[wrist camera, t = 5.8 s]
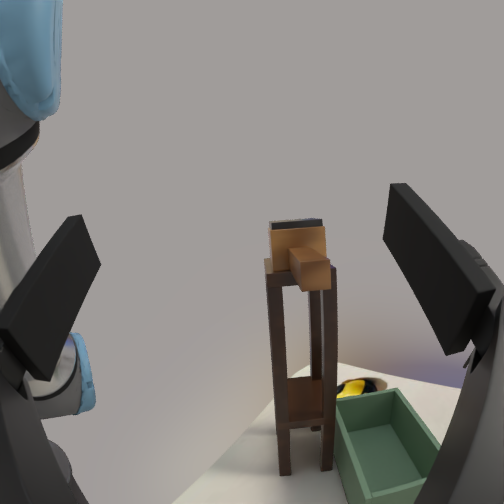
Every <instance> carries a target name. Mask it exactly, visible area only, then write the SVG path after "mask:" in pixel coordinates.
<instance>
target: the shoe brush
mask: <svg viewBox="0 0 504 504" xmlns="http://www.w3.org/2000/svg"><path fill="white" fill-rule="evenodd" d="M269 227H270V228H268V234H269V245H270V246H269V247H270V260H271V265H272V269H273V271H274V272H275V271H287V270H290V272H291V273H292V275H293V277H294V279H295V280H296V282H297V284H298V286H299V287H300V289H301V291H302V292H305V291H316V290H326V289H331V272H330V260H329V259H328V258H327V256H326V239H325V227H324V226H323V224H322V219H315V218H314V219H313V218H310V219H295V220H282V221H270V222H269Z"/></svg>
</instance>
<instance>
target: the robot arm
mask: <svg viewBox="0 0 504 504" xmlns="http://www.w3.org/2000/svg"><path fill="white" fill-rule="evenodd" d="M62 6H63V0H0V504H78V502H77V501H76V499H75V497H74V495H73V493H72V491H71V489H70V487H69V485H68V483H67V481H66V479H65V477H64V475H63V473H62V471H61V469H60V467H59V464H58V462H57V460H56V458H55V455H54V453H53V451H52V448H51V446H50V444H49V441H48V439H47V436H46V433H45V431H44V428H43V426H42V423H41V419H48V418H54V417H60V416H66V415H78V414H80V413H81V412H85V411H89V410H91V409H92V408H93V407H94V406H95V403H96V396H95V390H94V385H93V382H92V381H93V379H92V373H91V368H90V363H89V359H88V354H87V350H86V346H85V343H84V340H83V338H82V336H81V335H80V334H79V333H72V332H70V331H71V328H72V326H73V324H74V321H75V319H76V316H77V314H78V312H79V310H80V308H81V305H82V303H83V301H84V299H85V297H86V294H87V292H88V290H89V288H90V286H91V284H92V282H93V280H94V278H95V276H96V274H97V272H98V270H99V268H100V266H101V263H100V261H99V258H98V256H97V253H96V251H95V248H94V246H93V243H92V241H91V238H90V236H89V233H88V231H87V228H86V225H85V223H84V220H83V217H82V215H76V216H70V217H67V219H66V220H65V221H64V222H63V224H62V225H61V226H60V228H59V229H58V230H57V231H56V233H55V234H54V235H53V237H52V238H51V239H50V241H49V242H48V243H47V245H46V246H45V247H44V249H43V250H42V251H41V253H40V254H39V256H38V257H36V252H35V248H34V243H33V239H32V233H31V228H30V222H29V216H28V211H27V204H26V198H25V190H24V182H23V173H22V161H23V160H24V159H25V158H26V157H27V156H28V154H29V153H30V152H31V151H32V150H33V149H34V147H35V146H36V144H37V142H38V139H39V134H40V132H39V121H41V120H45V119H46V118H47V117H48V116H51V115H53V114H54V113H55V112H57V110H58V107H59V104H60V90H61V77H60V72H61V43H62V42H61V41H62V39H61V38H62ZM383 240H384V242H385V244H386V245H387V247H388V249H389V250H390V252H391V254H392V255H393V257H394V259H395V260H396V262H397V264H398V266H399V267H400V269H401V271H402V272H403V274H404V276H405V278H406V279H407V281H408V283H409V285H410V287H411V288H412V290H413V292H414V294H415V296H416V298H417V299H418V301H419V303H420V305H421V307H422V309H423V311H424V313H425V314H426V317H427V318H428V320H429V322H430V324H431V326H432V328H433V330H434V332H435V334H436V336H437V338H438V341H439V343H440V345H441V347H442V349H443V351H444V353H445V355H446V356H448V355H451V354H455V353H458V352H462V351H464V350H465V348H466V346H467V345H468V343H469V341H470V339H471V340H472V342H473V344H474V345H475V348H474V350H473V351H472V353H471V355H470V356H469V358H468V360H467V361H466V362H465V364H464V366H463V368H466V367H467V365H468V364H469V366H468V369H467V373H466V376H465V379H464V383H463V387H462V390H461V393H460V396H459V399H458V402H457V405H456V408H455V411H454V414H453V417H452V419H451V422H450V425H449V427H448V430H447V433H446V435H445V438H444V440H443V443H442V445H441V447H440V450H439V452H438V454H437V457H436V459H435V461H434V463H433V466H432V468H431V470H430V472H429V474H428V476H427V478H426V480H425V482H424V484H423V486H422V488H421V490H420V492H419V494H418V496H417V498H416V500H415V501H414V503H413V504H503V503H504V285H503V283H502V282H501V281H500V280H499V278H498V277H497V275H496V274H495V273H494V272H493V270H492V269H491V268H490V267H489V266H488V265H487V263H486V262H485V260H484V259H482V257H481V255H480V254H479V253H478V252H477V251H476V249H475V248H474V247H472V246H471V245H470V244H468V243H467V242H465V241H464V240H458V239H457V238H456V237H455V235H454V234H453V233H452V232H451V231H450V230H449V229H448V227H447V226H446V225H445V224H444V223H443V222H442V221H441V219H440V218H439V217H438V216H437V215H436V214H435V213H434V212H433V211H432V210H431V209H430V208H429V206H428V205H427V204H426V203H425V202H424V201H423V200H422V199H421V198H420V197H419V196H418V195H417V194H416V193H415V192H414V191H413V190H412V189H411V188H410V187H409V186H408V185H407V184H406V183H395V184H390V190H389V198H388V206H387V214H386V221H385V227H384V234H383Z"/></svg>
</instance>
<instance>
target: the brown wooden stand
mask: <svg viewBox="0 0 504 504" xmlns="http://www.w3.org/2000/svg"><path fill="white" fill-rule="evenodd" d="M264 265H265V279H266V292H267V305H268V318H269V332H270V346H271V360H272V373H273V387H274V388H273V389H274V404H275V419H276V434H277V441H278V457H279V473H280V476H287V475H291V462H290V431H289V429H295V428H304V427H311V430H312V431H319V430H321V448H320V468H321V471H328V470H332V464H333V451H334V437H335V420H336V398H337V357H338V351H337V350H338V346H337V345H338V328H337V327H338V325H337V324H338V323H337V322H338V321H337V282H336V281H337V276H336V268H335V267H333V266H332V265H331V264H330V272H331V289H326V290H316V291H308V306H309V331H310V332H309V334H310V376H307V377H297V378H287V364H286V344H285V326H284V310H283V294H282V286H293V285H298V284H297V282H296V280H295V279H294V277H293V275H292V273H291V272H290V270H287V271H275V272H274V271H273V269H272V265H271V260H270V258H267V259H264ZM320 294H321V296H320ZM321 327H322V331H321Z"/></svg>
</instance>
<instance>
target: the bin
mask: <svg viewBox="0 0 504 504" xmlns="http://www.w3.org/2000/svg"><path fill="white" fill-rule="evenodd" d="M440 447H441V445H440V444H439V442H438V441H437V440H436V438H435V437H434V435H433V434H432V433H431V431H430V430H429V429H428V427H427V426H426V425H425V423H424V422H423V421H422V419H421V418H420V417H419V415H418V414H417V413H416V411H415V410H414V409H413V407H412V406H411V405H410V403H409V402H408V401H407V399H406V398H405V397H404V396H403V394H402V393H401V392H400V390H399V389H398V388H393V389H388V390H383V391H378V392H373V393H368V394H362V395H356V396H350V397H344V398H337V399H336V420H335V437H334V451H333V453H334V457H335V460H336V463H337V467H338V470H339V474H340V477H341V480H342V484H343V487H344V491H345V494H346V497H347V501H348V504H413V503H414V501H415V500H416V498H417V496H418V494H419V492H420V490H421V488H422V486H423V484H424V482H425V480H426V478H427V476H428V474H429V472H430V470H431V468H432V466H433V463H434V461H435V459H436V457H437V454H438V452H439V450H440Z"/></svg>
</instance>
